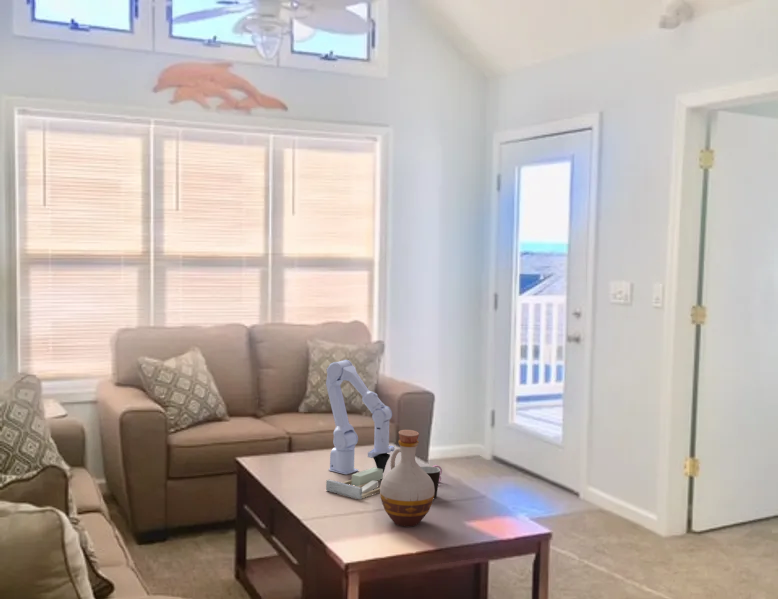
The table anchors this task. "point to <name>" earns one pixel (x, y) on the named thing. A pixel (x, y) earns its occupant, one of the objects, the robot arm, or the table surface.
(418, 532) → the table surface
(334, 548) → the table surface
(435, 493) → the coffee mug
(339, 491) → the organizer
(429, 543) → the table surface
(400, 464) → the jug
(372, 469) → the sage bar
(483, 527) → the table surface
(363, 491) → the white bar
